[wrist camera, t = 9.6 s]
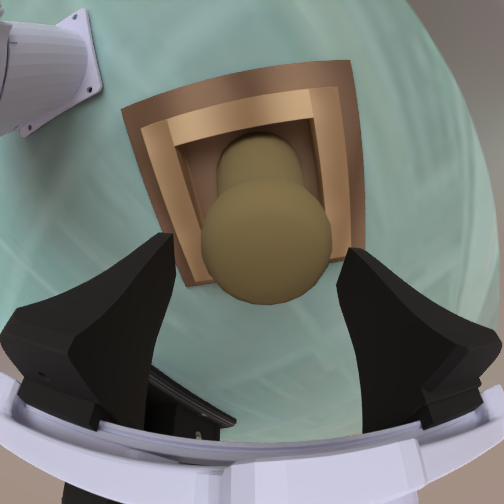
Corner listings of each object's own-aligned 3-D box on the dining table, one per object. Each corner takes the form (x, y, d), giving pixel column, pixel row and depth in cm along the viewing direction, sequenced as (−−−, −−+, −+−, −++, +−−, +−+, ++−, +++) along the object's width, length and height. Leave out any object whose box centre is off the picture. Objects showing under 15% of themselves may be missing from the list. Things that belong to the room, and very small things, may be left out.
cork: (313, 196, 20) (363, 300, 10) (236, 223, 21) (227, 340, 12) (285, 118, 17) (331, 157, 7) (202, 151, 18) (149, 226, 9)
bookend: (238, 419, 42) (236, 538, 22) (191, 426, 45) (182, 531, 25) (139, 351, 31) (100, 527, 11) (95, 365, 34) (57, 502, 14)
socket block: (186, 284, 25) (182, 302, 23) (123, 108, 16) (108, 112, 14) (363, 253, 23) (372, 269, 21) (348, 60, 14) (361, 57, 12)
